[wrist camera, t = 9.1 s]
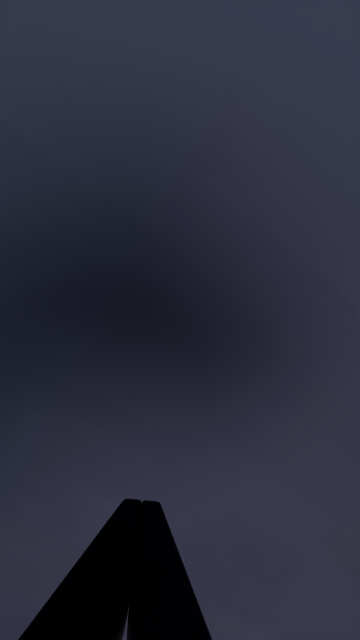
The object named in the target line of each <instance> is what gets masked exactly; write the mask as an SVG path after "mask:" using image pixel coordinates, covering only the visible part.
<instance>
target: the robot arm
mask: <svg viewBox="0 0 360 640" xmlns="http://www.w3.org/2000/svg"><path fill="white" fill-rule="evenodd" d="M129 601H130V603H129ZM128 608H129V612H128ZM127 614H128V625H127V640H212V638H211V636H210V633H209V630H208V628H207V625H206V623H205V620H204V617H203V615H202V612H201V609H200V607H199V604H198V601H197V599H196V596H195V594H194V591H193V588H192V586H191V583H190V580H189V578H188V575H187V572H186V570H185V567H184V565H183V562H182V559H181V557H180V554H179V551H178V549H177V546H176V543H175V541H174V538H173V536H172V533H171V530H170V528H169V525H168V522H167V520H166V517H165V514H164V512H163V509H162V507H161V504H160V503H159V502H157V501H147V500H144V501H143V502H141V501H140V500H137V499H124V500H123V501H122V503H121V504H120V505H119V507H118V508H117V509H116V511H115V512H114V513H113V514H112V516H111V517H110V518H109V520H108V521H107V522H106V524H105V525H104V526H103V528H102V529H101V530H100V532H99V533H98V534H97V536H96V537H95V538H94V540H93V541H92V542H91V544H90V545H89V546H88V548H87V549H86V550H85V552H84V553H83V554H82V556H81V557H80V558H79V560H78V561H77V562H76V564H75V565H74V566H73V568H72V569H71V570H70V572H69V573H68V574H67V576H66V577H65V578H64V580H63V581H62V582H61V584H60V585H59V586H58V588H57V589H56V590H55V592H54V593H53V594H52V596H51V597H50V598H49V600H48V601H47V602H46V604H45V605H44V606H43V607H42V609H41V610H40V611H39V613H38V614H37V615H36V617H35V618H34V619H33V621H32V622H31V623H30V625H29V626H28V627H27V629H26V630H25V631H24V633H23V634H22V635H21V637H20V638H19V639H18V640H122V638H123V634H124V629H125V624H126V620H127Z"/></svg>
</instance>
